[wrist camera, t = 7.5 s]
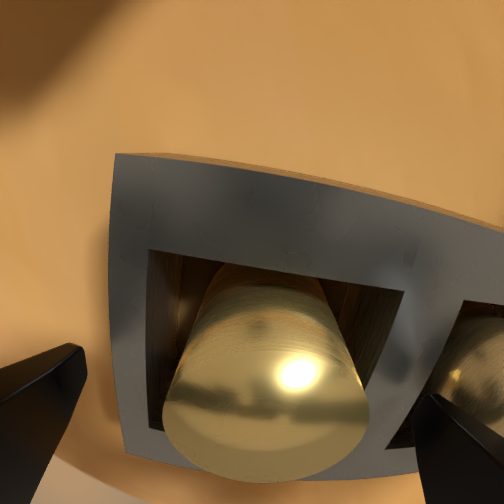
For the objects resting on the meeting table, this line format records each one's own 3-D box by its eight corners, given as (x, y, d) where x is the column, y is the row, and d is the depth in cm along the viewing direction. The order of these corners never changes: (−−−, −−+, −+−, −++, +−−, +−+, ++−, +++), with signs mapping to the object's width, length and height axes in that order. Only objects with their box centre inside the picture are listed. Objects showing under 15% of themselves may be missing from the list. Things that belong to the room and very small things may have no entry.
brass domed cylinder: (336, 261, 11) (402, 363, 5) (307, 362, 12) (330, 485, 6) (212, 240, 11) (162, 332, 5) (199, 346, 12) (164, 468, 6)
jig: (529, 238, 10) (586, 266, 6) (453, 408, 13) (482, 457, 9) (167, 153, 10) (115, 153, 6) (152, 387, 13) (125, 452, 9)
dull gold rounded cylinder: (490, 290, 11) (574, 358, 5) (454, 370, 12) (511, 453, 7) (417, 277, 11) (509, 365, 5) (381, 369, 12) (430, 476, 7)
